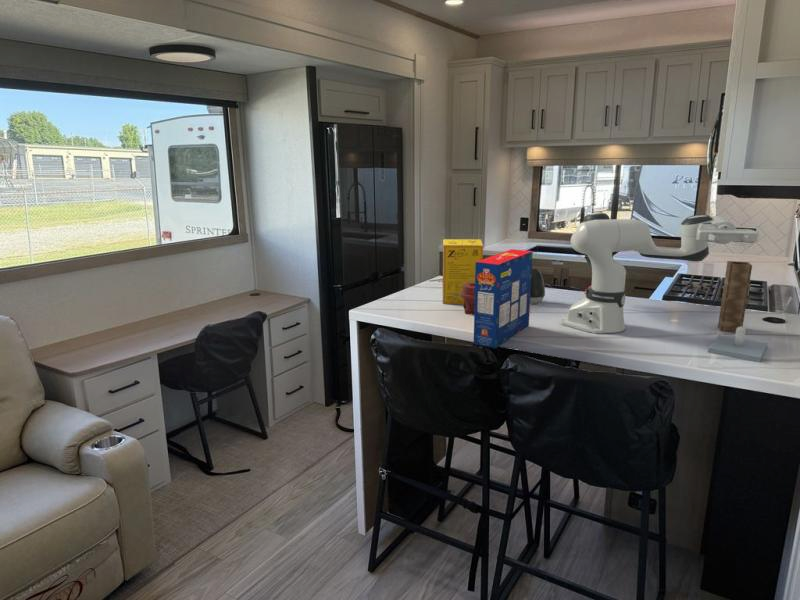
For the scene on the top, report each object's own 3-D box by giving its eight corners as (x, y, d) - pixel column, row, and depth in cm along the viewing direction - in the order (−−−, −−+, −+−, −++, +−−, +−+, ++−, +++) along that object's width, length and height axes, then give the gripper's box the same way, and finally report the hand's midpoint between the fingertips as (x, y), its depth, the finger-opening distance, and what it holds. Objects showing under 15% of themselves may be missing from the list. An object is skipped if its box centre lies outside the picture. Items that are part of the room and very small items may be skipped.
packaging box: (443, 294, 250) (443, 239, 244) (479, 294, 249) (480, 239, 242) (442, 303, 235) (443, 245, 228) (481, 304, 233) (482, 245, 227)
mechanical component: (458, 315, 218) (461, 308, 227) (484, 316, 216) (485, 309, 225) (459, 285, 214) (461, 279, 224) (485, 285, 212) (486, 280, 222)
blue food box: (508, 322, 208) (511, 249, 201) (528, 326, 203) (532, 251, 196) (473, 343, 186) (475, 261, 179) (495, 348, 181) (498, 264, 174)
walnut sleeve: (720, 331, 196) (730, 264, 189) (717, 326, 201) (727, 261, 195) (741, 333, 193) (752, 265, 187) (738, 327, 199) (748, 262, 193)
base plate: (707, 352, 176) (711, 328, 174) (718, 339, 188) (721, 317, 186) (759, 362, 167) (763, 337, 165) (767, 347, 179) (771, 324, 177)
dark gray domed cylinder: (543, 299, 239) (545, 265, 235) (545, 306, 229) (547, 270, 225) (519, 299, 241) (520, 264, 237) (520, 305, 231) (521, 269, 227)
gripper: (752, 241, 212) (761, 249, 200) (692, 239, 219) (698, 246, 206) (755, 224, 210) (764, 231, 198) (695, 223, 217) (700, 229, 204)
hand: (730, 239), depth 202 cm, fingers open, 8 cm apart
